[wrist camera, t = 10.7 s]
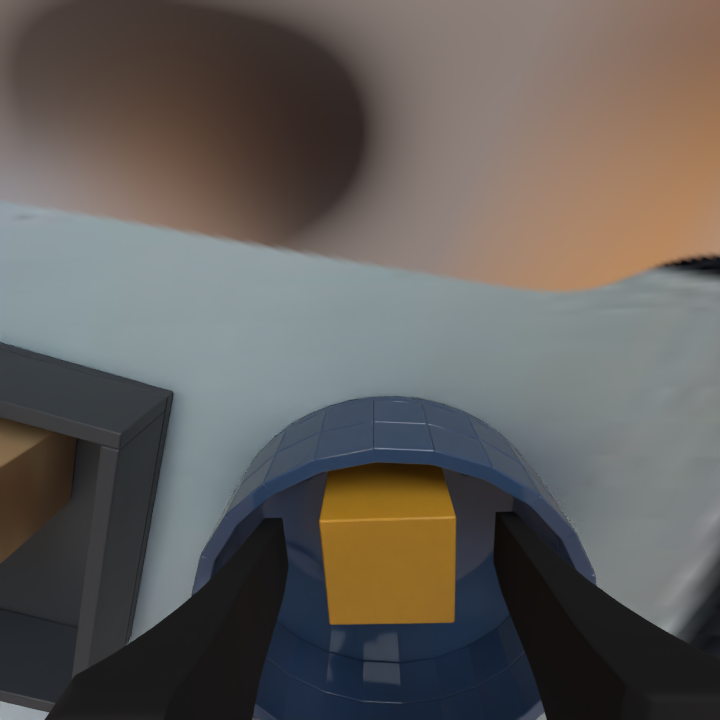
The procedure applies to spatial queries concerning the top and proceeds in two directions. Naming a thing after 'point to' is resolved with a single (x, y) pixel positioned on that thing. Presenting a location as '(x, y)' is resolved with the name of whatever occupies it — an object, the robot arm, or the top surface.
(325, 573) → the mustard block
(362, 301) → the top surface
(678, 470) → the top surface
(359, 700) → the bowl
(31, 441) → the beech block
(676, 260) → the top surface
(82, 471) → the bin
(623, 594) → the top surface
